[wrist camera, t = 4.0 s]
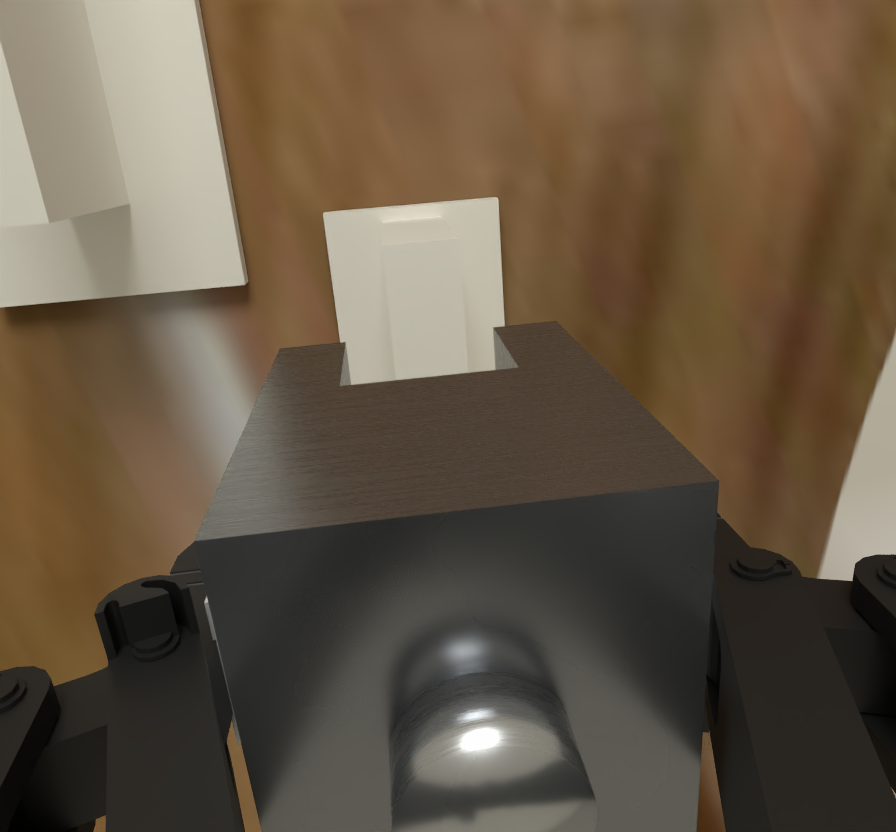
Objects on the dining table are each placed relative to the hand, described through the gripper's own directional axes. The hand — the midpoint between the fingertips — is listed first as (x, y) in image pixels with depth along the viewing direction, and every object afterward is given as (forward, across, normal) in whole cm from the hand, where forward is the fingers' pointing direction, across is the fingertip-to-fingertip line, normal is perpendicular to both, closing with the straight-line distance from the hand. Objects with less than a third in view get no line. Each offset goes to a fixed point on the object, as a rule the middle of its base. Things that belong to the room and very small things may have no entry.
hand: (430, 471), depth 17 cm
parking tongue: (+15, +1, 0) cm, 15 cm away
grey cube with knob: (-1, 0, 0) cm, 1 cm away
